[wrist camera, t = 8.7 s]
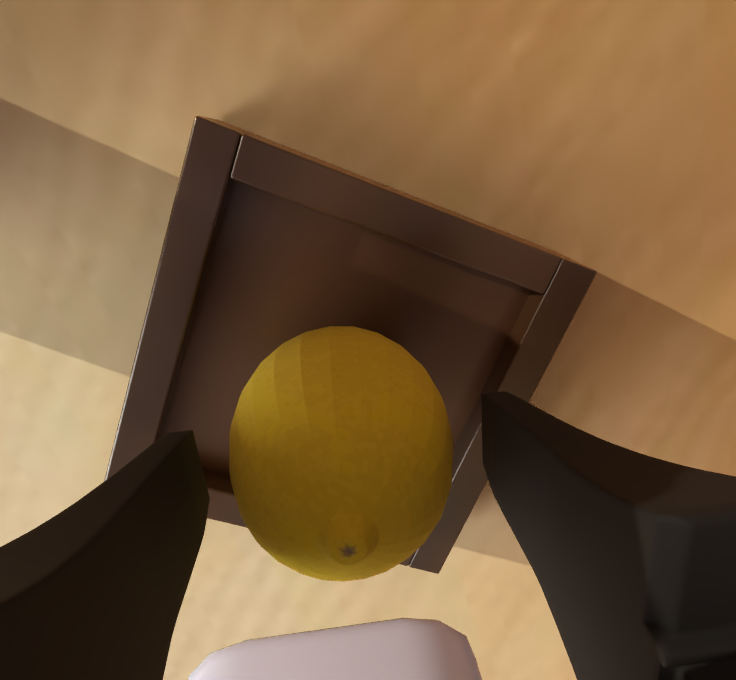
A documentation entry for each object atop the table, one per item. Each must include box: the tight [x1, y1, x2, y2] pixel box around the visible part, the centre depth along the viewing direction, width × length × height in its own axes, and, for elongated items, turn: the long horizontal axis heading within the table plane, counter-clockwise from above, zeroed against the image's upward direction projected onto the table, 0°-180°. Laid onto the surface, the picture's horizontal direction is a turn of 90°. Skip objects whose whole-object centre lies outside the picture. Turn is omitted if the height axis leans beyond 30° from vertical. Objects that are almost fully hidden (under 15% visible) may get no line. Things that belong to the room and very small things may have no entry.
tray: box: [104, 116, 597, 574], centre depth 18 cm, size 12×12×3 cm
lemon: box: [229, 326, 453, 581], centre depth 13 cm, size 6×6×8 cm
